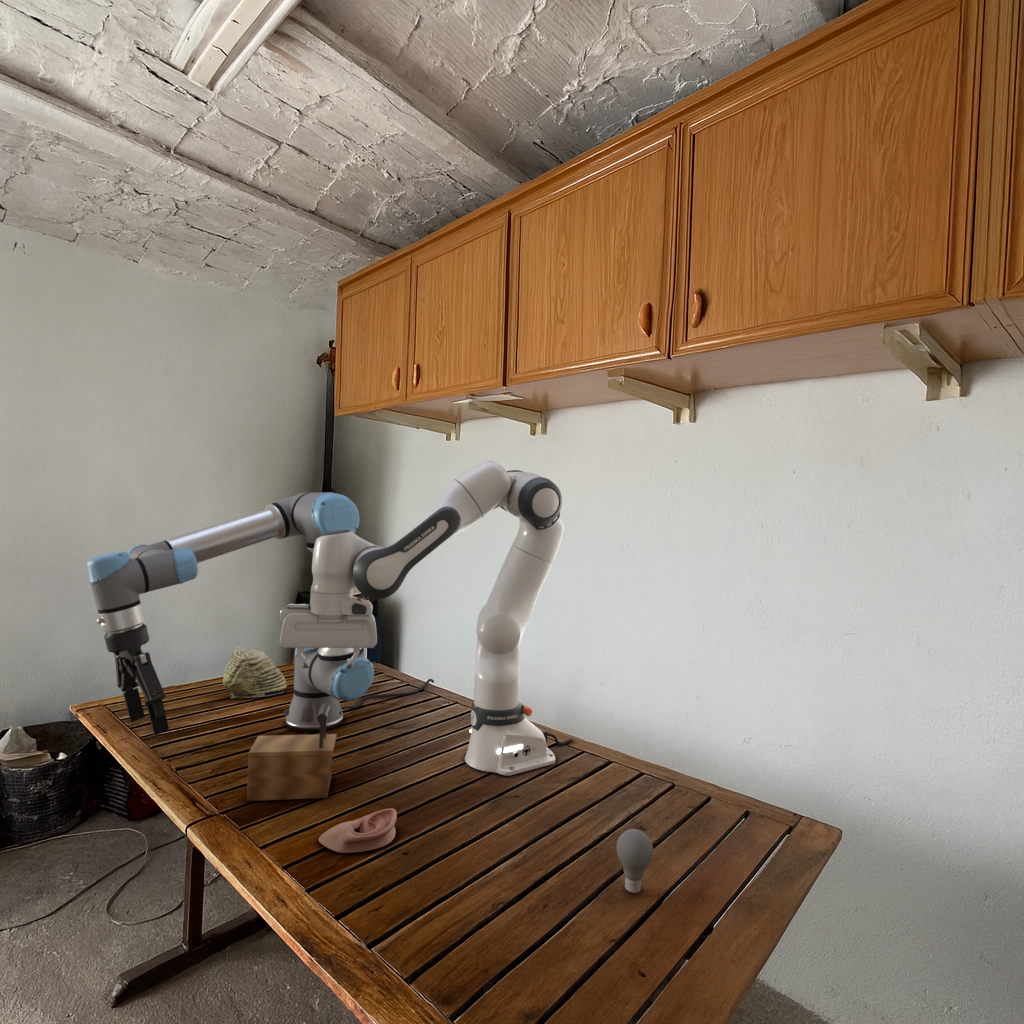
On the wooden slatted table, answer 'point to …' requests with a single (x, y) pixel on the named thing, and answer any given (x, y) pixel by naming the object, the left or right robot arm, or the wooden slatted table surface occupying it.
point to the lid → (297, 742)
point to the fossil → (252, 674)
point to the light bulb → (634, 857)
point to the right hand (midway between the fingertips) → (327, 667)
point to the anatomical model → (362, 833)
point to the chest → (288, 777)
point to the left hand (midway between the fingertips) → (149, 725)
